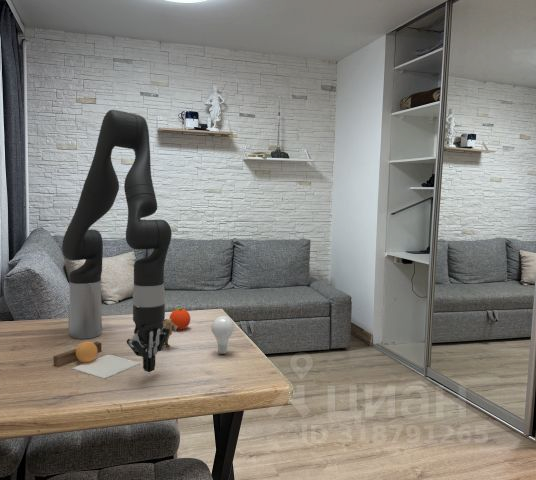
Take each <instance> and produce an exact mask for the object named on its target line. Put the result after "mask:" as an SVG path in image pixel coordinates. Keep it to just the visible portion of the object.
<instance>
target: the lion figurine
mask: <svg viewBox="0 0 536 480" xmlns="http://www.w3.org/2000/svg"><path fill="white" fill-rule="evenodd" d="M163 327H165V328H167V329H170V332H169V334H168V337H167V339H166V341H165V343H164V346H165V347H167V348H168V347H170V344H169V340H170V336H171V335H172V334H173V333H176V330H178V329H177V327H178V326H177V325H175V324H174V323H173V322H172V319H169V318H165V319H164V321H163ZM159 343H160V341H159Z"/></svg>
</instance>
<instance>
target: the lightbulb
mask: <svg viewBox="0 0 536 480" xmlns="http://www.w3.org/2000/svg"><path fill="white" fill-rule="evenodd" d="M234 330H235V325H234V321H233V320H232V319H231V318H230V317H229V316H225V315H221V316H218V317H215V319H213V321H212V323H211V332H212V334H213V335H214V337H215V339H216V343H217V353H218V354H219V355H225V354H226V353H228V344H229V340H230V338H231V336H232V335H233V333H234Z"/></svg>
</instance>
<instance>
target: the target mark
mask: <svg viewBox="0 0 536 480" xmlns="http://www.w3.org/2000/svg"><path fill="white" fill-rule="evenodd" d="M138 364H139V365H141V362H138V361H135V360H131V359H130V360H129V359H127V358H124V357H120V356H116V355H112V354H106V355H103V356H101V357H99V358H95V359H94V360H92V361H90V362H86V363H85V362H84V363H83V364H80V365H77V366H74V367H72V368H71V369H72V370H75V371H78V372H81V373H84V374H88V375H90V376H94V377H97V378H99V379H104V380H106V379H108V378H111V377H113V376H116V375H118V374H121V373H122V372H124V371H127V370H129V369H132V368H134V367H136V366H139V365H138Z"/></svg>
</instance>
